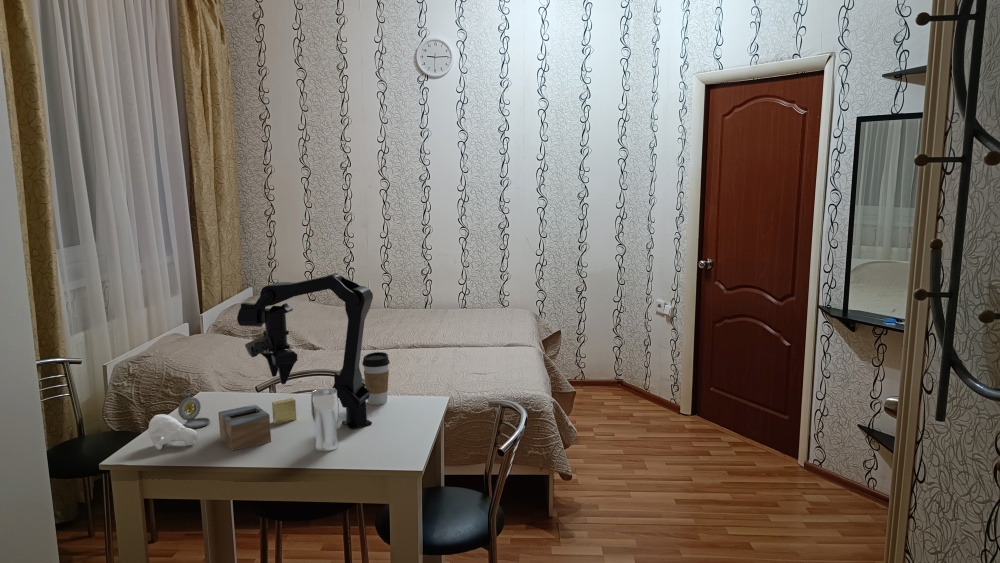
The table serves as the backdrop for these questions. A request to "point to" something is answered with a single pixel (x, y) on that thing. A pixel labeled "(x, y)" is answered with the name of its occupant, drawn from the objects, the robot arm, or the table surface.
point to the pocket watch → (187, 406)
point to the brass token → (284, 410)
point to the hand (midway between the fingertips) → (278, 380)
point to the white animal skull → (169, 431)
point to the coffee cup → (376, 376)
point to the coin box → (244, 426)
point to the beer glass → (325, 418)
